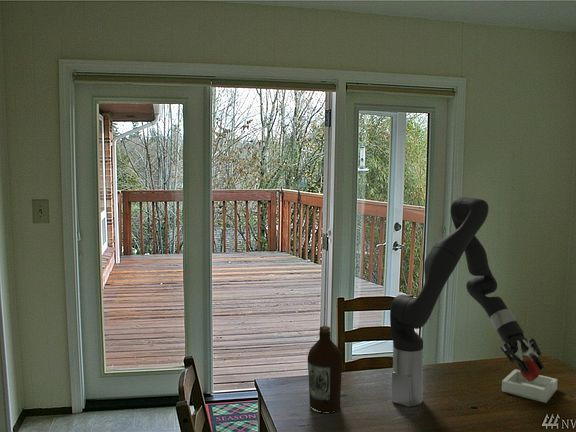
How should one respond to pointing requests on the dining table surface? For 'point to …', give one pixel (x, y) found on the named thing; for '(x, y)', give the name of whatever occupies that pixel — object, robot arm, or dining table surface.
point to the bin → (530, 386)
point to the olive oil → (325, 373)
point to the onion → (531, 370)
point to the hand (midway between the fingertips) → (534, 370)
